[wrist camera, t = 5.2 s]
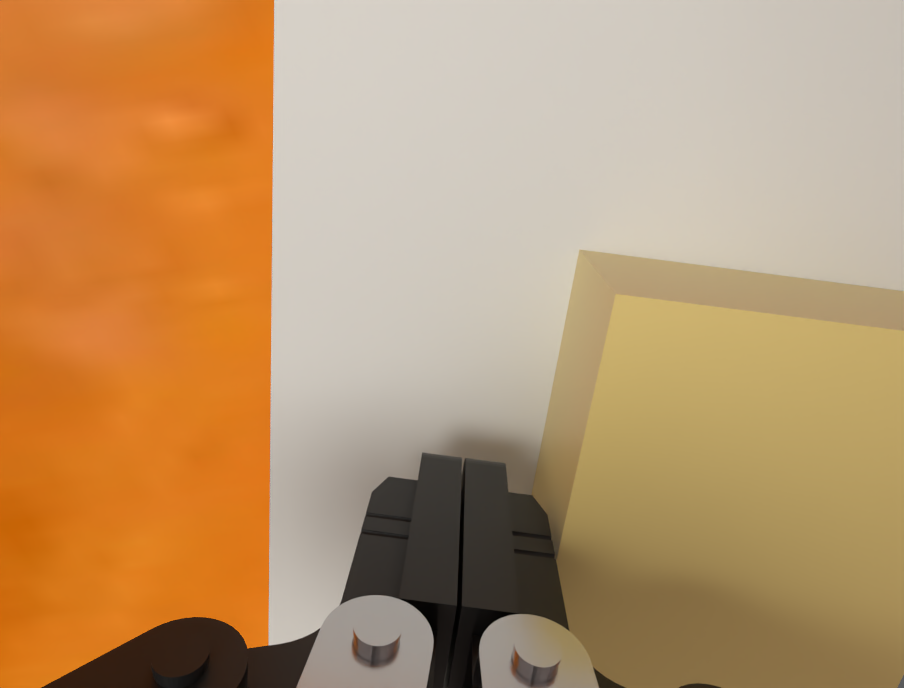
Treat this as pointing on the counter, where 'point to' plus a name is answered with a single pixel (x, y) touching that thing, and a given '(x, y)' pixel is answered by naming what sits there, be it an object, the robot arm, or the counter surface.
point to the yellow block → (728, 476)
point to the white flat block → (532, 214)
